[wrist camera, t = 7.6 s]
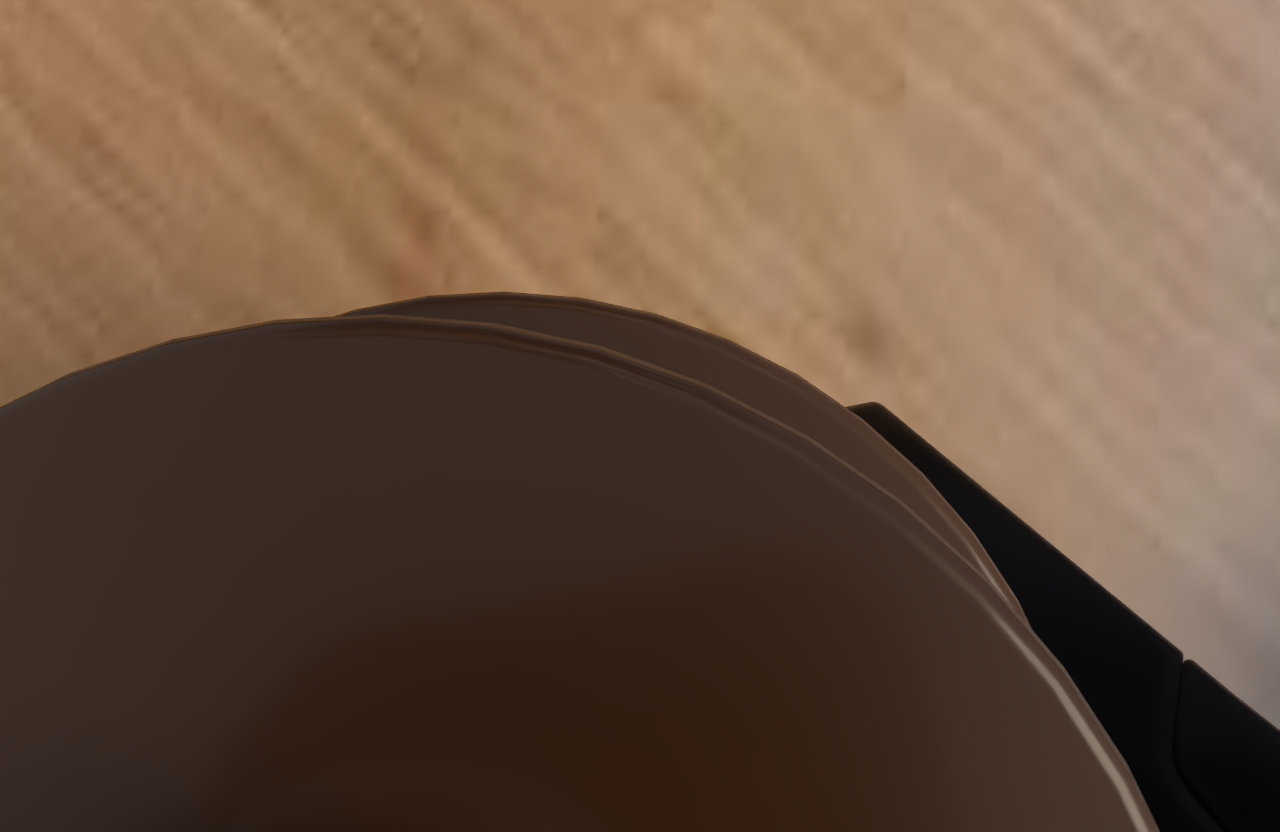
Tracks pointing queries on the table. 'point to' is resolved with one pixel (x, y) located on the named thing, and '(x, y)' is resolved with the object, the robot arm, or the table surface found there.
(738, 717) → the pepper mill
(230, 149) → the table surface
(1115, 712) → the robot arm
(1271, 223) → the table surface
